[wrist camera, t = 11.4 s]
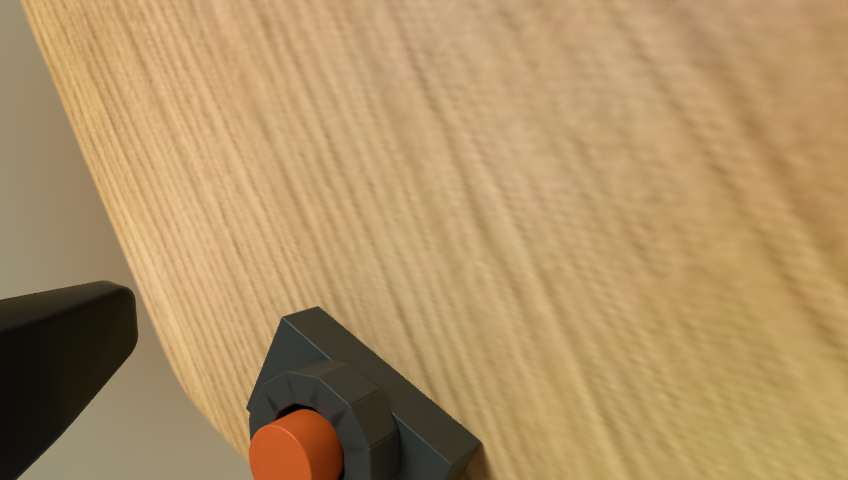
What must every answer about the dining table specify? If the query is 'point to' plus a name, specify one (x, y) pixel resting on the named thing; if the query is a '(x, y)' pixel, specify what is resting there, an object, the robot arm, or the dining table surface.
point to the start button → (297, 449)
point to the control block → (357, 403)
